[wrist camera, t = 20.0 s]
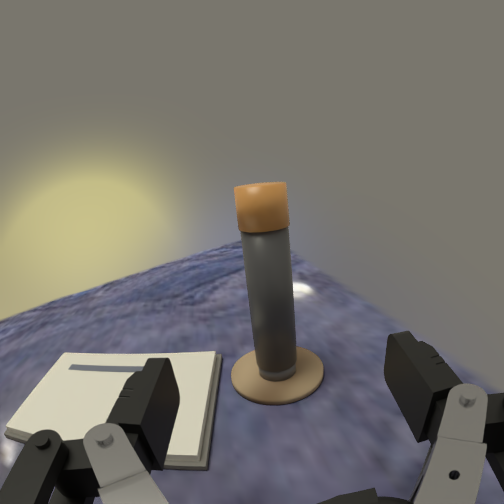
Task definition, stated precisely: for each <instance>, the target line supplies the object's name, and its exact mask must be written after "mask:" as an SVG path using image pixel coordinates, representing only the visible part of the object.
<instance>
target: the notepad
mask: <svg viewBox="0 0 504 504" xmlns="http://www.w3.org/2000/svg"><path fill="white" fill-rule="evenodd" d="M148 358H169V359H170V361H171V364H172V368H173V371H174V375H175V378H176V382H177V385H178V388H179V393H180V405H179V409H178V413H177V416H176V420H175V424H174V428H173V432H172V436H171V440H170V443H169V447H168V451H167V455H166V459H165V463H164V467H163V468H164V469H181V470H207V467H208V459H209V451H210V444H211V436H212V429H213V421H214V414H215V406H216V399H217V392H218V385H219V377H220V370H221V363H222V354H216V352H215V351H210V352H190V353H163V354H88V353H64V354H63V355H62V356H61V357H60V358H59V360H58V361H57V362H56V363H55V364H54V366H53V367H52V368H51V369H50V370H49V372H48V373H47V374H46V375H45V376H44V378H43V379H42V380H41V381H40V383H39V384H38V385H37V386H36V387H35V389H34V390H33V391H32V392H31V394H30V395H29V396H28V398H27V399H26V400H25V401H24V403H23V404H22V405H21V406H20V408H19V409H18V410H17V412H16V413H15V414H14V416H13V417H12V418H11V420H10V421H9V422H8V424H7V425H6V427H7V430H6V432H5V433H4V435H5V436H6V438H9V439H12V440H15V441H19V442H22V443H25V444H26V442H27V440H28V439H29V438H30V437H31V436H32V435H33V434H34V433H36V432H38V431H41V430H46V429H49V430H54V431H56V432H57V433H58V434H59V435H60V437H61V438H62V440H63V441H65V440H75V439H83V438H84V436H85V434H86V433H87V432H88V431H89V430H90V429H91V428H92V427H94V426H96V425H99V424H103V423H105V422H106V420H107V418H108V416H109V414H110V412H111V410H112V408H113V406H114V404H115V402H116V400H117V398H119V394H120V392H121V390H123V389H122V388H123V386H124V384H125V382H126V380H127V379H128V378H129V377H130V376H131V375H132V374H133V373H135V372H136V371H142V369H143V367H144V365H145V363H146V361H147V359H148Z"/></svg>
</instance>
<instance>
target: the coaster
mask: <svg viewBox="0 0 504 504" xmlns="http://www.w3.org/2000/svg"><path fill="white" fill-rule="evenodd" d="M296 351H297V361H296V372H295V374H294V375H293V376H292V377H291V378H289V379H287V380H284V381H280V382H272V381H267V380H265V379H263V378H262V377H261V376H260V374H259V368H258V365H257V363H256V355H255V350H254V351H251V352H249V353H247V354H246V355H244V356H243V357H241V358H240V359H239V360H238V361H237V362H236V363H235V365H234V366H233V368H232V372H231V379H232V384H233V387H234V389H235V390H236V391H237V393H238V394H240V395H241V396H242V397H244V398H245V399H247V400H249V401H252V402H255V403H259V404H265V405H282V404H288V403H292V402H296V401H298V400H301V399H303V398H305V397H307V396H308V395H310V394H311V393H313V392H314V391H315V390H316V389H317V388H318V387H319V385H320V384H321V382H322V379H323V364H322V362H321V360H320V358H319V357H318V356H317V355H316V354H314V353H313V352H311V351H309V350H307V349H304V348H301V347H297V346H296Z"/></svg>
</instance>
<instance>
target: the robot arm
mask: <svg viewBox="0 0 504 504" xmlns="http://www.w3.org/2000/svg"><path fill="white" fill-rule="evenodd" d="M384 376H385V381H386V383H387V385H388V387H389V389H390V391H391V393H392V395H393V397H394V398H395V400H396V402H397V404H398V406H399V408H400V410H401V412H402V414H403V416H404V417H405V419H406V421H407V423H408V425H409V427H410V429H411V431H412V433H413V435H414V437H415V439H416V441H417V443H419V442H422V441H425V440H428V439H429V441H430V443H431V445H430V448H429V450H428V453H427V456H426V459H425V462H424V464H423V467H422V470H421V472H420V475H419V477H418V480H417V482H416V485H415V487H414V489H413V492H412V494H411V496H410V498H409V500H408V501H407V500H404V499H400V498H394V497H377V493H376V490H375V488H371V489H367V490H363V491H358V492H354V493H349V494H344V495H339V496H336V497H334V498H331V499H329V500H326V501H323V502H321V503H318V504H475V501H476V497H477V493H478V489H479V485H480V480H481V476H482V471H483V466H484V461H485V457H486V458H487V460H488V462H489V464H490V466H491V468H492V470H493V472H494V474H495V475H496V477H497V479H498V481H499V483H500V485H501V487H502V489H503V491H504V393H498V394H486V392H485V391H484V390H483V389H482V388H480V387H479V386H476V385H473V384H463V383H462V381H461V380H460V379H459V378H458V377H457V375H456V374H455V373H454V372H453V370H452V369H451V368H450V367H449V366H448V364H447V363H445V361H444V360H443V358H442V357H441V356H439V354H438V352H437V351H436V350H435V349H434V348H433V347H432V346H430V345H429V344H427V343H425V342H423V341H420V342H418V341H417V340H416V339H415V338H414V336H413V335H412V334H411V333H410V332H409V331H404V332H399V333H394V334H390V335H389V336H388V339H387V348H386V356H385V364H384ZM122 389H123V390H121V392H120V394H119V398H117V400H116V402H115V404H114V406H113V408H112V410H111V412H110V414H109V416H108V418H107V420H106V422H105V423H103V424H99V425H96V426H94V427H92V428H91V429H90V430H89V431H88V432H87V433H86V434H85V436H84V438H83V439H75V440H65V441H63V440H62V438H61V437H60V435H59V434H58V433H57V432H56V431H54V430H49V429H46V430H41V431H38V432H36V433H34V434H33V435H32V436H31V437H30V438H29V439H28V440H27V442H26V444H25V446H24V447H23V449H22V451H21V453H20V454H19V456H18V458H17V460H16V462H15V464H14V465H13V467H12V469H11V471H10V473H9V475H8V477H7V478H6V480H5V482H4V484H3V486H2V488H1V490H0V504H48V502H49V498H50V496H51V493H52V491H53V489H54V486H55V490H54V492H53V495H52V497H51V500H50V502H49V504H93V501H94V498H95V497H99V496H100V497H101V499H102V501H103V503H104V504H169V503H168V502H167V500H166V499H165V497H164V496H163V494H162V493H161V491H160V490H159V488H158V487H157V485H156V484H155V482H154V481H153V479H152V478H151V476H150V473H151V470H161V471H163V467H164V463H165V459H166V455H167V451H168V447H169V443H170V440H171V436H172V432H173V428H174V424H175V420H176V416H177V413H178V409H179V405H180V393H179V388H178V385H177V382H176V378H175V375H174V371H173V368H172V364H171V361H170V359H169V358H148V359H147V361H146V363H145V365H144V367H143V369H142V371H136V372H135V373H133V374H132V375H131V376H130V377H129V378H128V379H127V380H126V382H125V384H124V386H123V388H122Z"/></svg>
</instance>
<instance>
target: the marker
mask: <svg viewBox="0 0 504 504" xmlns="http://www.w3.org/2000/svg"><path fill="white" fill-rule="evenodd" d="M234 193H235V202H236V211H237V219H238V227H239V230H240V231H241V240H242V248H243V257H244V265H245V273H246V282H247V290H248V298H249V307H250V315H251V323H252V331H253V339H254V347H255V355H256V363H257V365H258V368H259V374H260V376H261V377H262V378H263V379H265V380H267V381H272V382H280V381H284V380H287V379H289V378H291V377H292V376H293V375H294V374H295V372H296V361H297V351H296V332H295V314H294V298H293V283H292V269H291V255H290V243H289V230H288V226H289V224H290V223H289V210H288V199H287V189H286V183H285V182H268V183H267V182H266V183H256V184H248V185H242V186H237V187H235V188H234Z"/></svg>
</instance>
